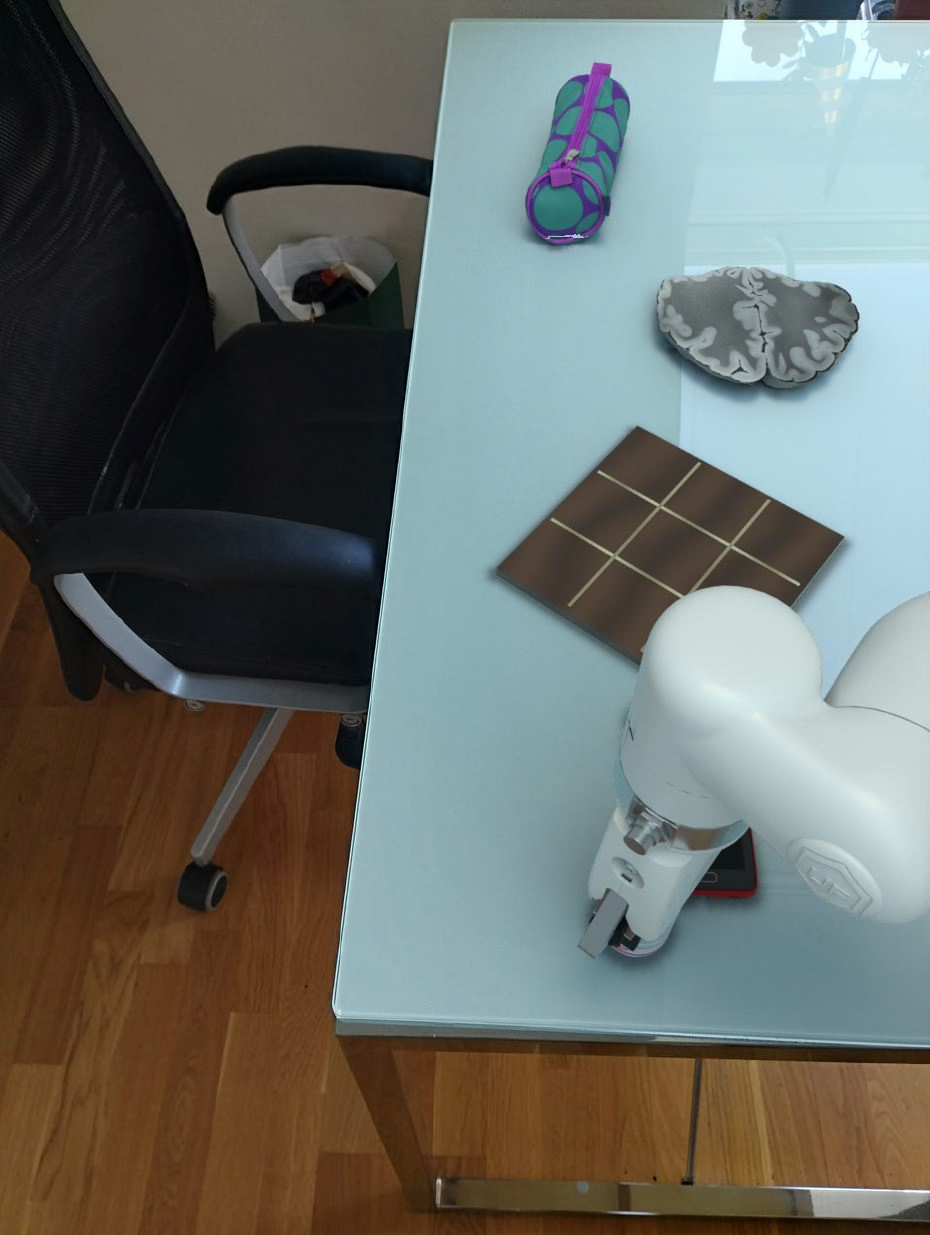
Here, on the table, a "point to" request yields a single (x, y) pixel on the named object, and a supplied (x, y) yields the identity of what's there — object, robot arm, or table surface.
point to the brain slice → (757, 324)
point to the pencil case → (579, 157)
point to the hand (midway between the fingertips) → (641, 896)
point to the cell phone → (731, 871)
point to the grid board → (661, 542)
